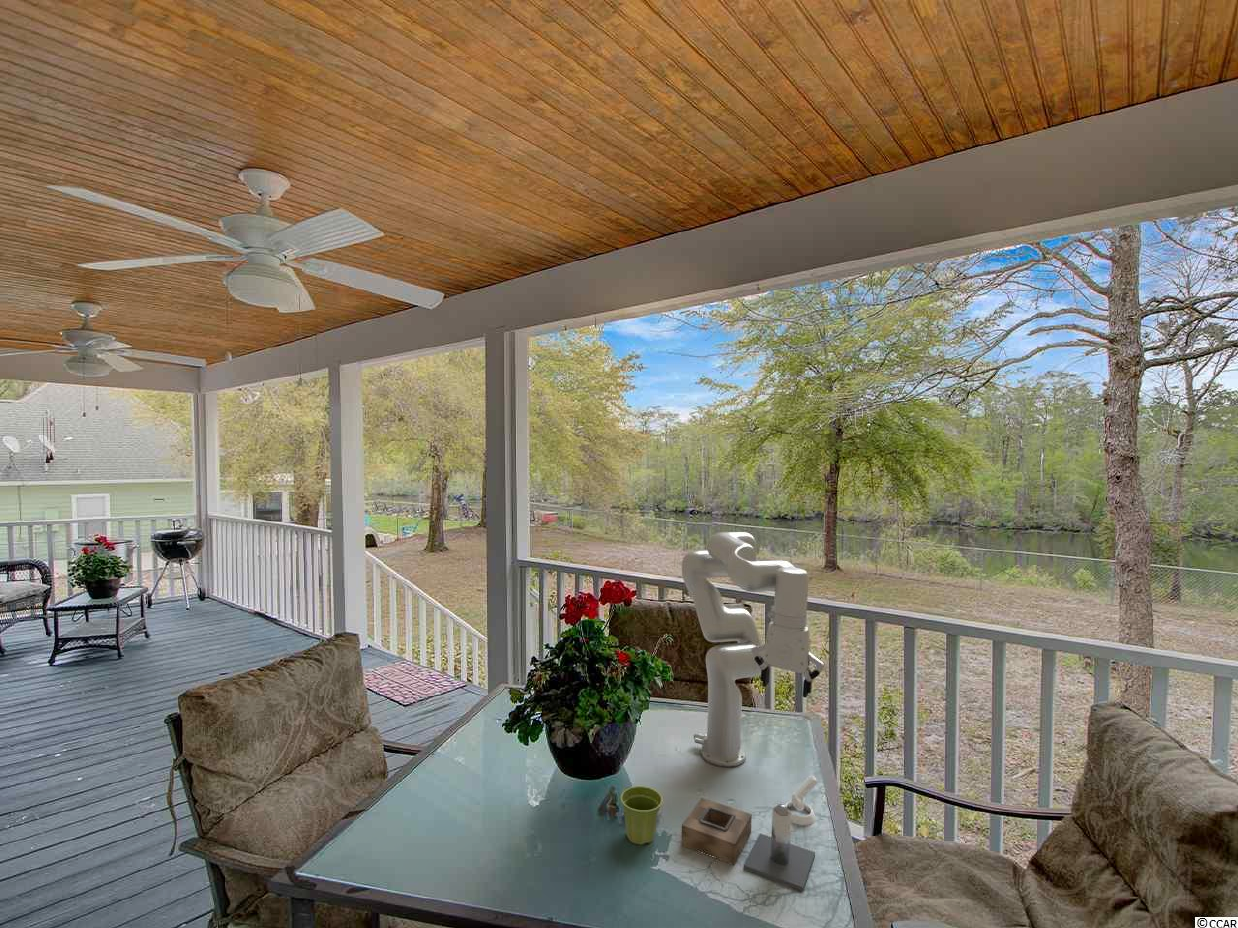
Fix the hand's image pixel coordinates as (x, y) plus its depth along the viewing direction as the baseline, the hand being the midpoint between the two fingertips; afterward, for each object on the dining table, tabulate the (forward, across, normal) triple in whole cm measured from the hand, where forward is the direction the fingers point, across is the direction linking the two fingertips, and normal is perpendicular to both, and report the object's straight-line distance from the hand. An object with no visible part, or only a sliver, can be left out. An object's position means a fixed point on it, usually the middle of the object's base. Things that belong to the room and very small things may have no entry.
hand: (785, 689), depth 141 cm
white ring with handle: (+30, +5, +1) cm, 30 cm away
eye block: (+30, -8, -19) cm, 36 cm away
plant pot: (+30, -23, -27) cm, 47 cm away
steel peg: (+28, +6, -18) cm, 34 cm away
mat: (+29, +6, -18) cm, 35 cm away
